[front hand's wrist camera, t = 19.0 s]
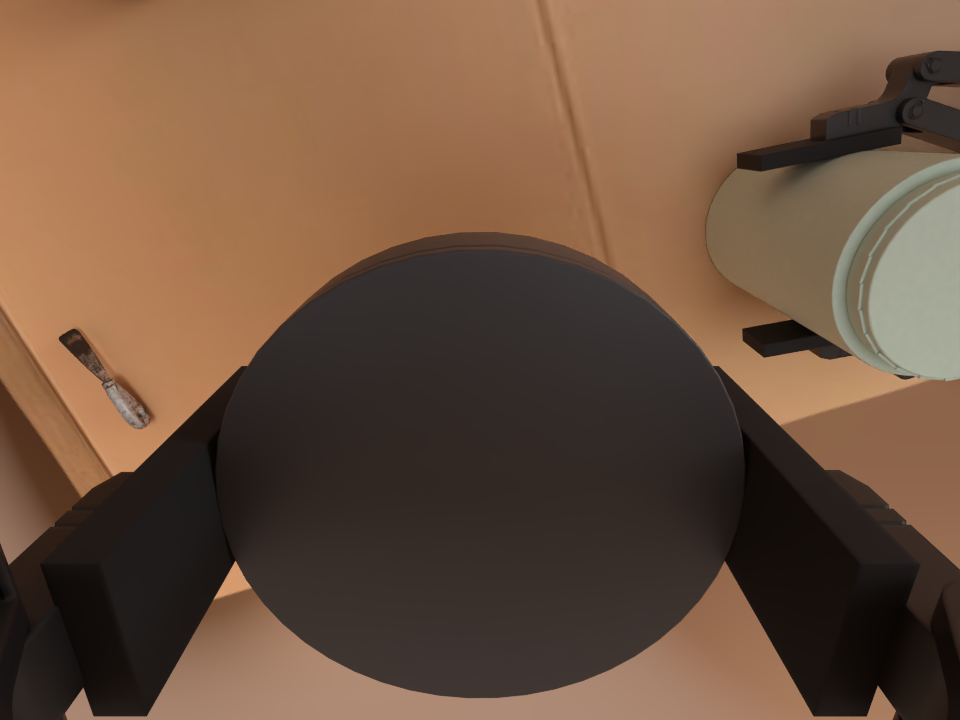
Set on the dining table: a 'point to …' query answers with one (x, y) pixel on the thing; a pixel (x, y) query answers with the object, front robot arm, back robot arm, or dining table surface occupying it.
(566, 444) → the lid
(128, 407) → the putty knife
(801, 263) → the jar
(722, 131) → the dining table surface
